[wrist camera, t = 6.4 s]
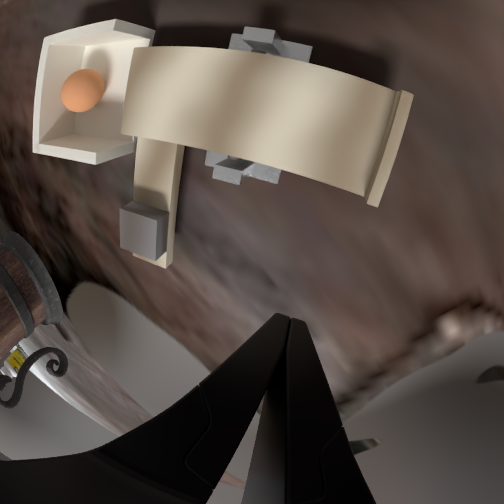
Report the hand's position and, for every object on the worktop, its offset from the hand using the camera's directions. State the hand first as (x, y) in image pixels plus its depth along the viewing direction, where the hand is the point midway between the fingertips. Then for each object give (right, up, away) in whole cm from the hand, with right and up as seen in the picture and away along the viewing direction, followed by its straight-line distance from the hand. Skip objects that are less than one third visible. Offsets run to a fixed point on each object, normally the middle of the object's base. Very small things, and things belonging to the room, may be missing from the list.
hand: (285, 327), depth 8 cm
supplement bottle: (-64, -26, +47) cm, 84 cm away
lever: (-2, +7, +9) cm, 11 cm away
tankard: (-34, -5, +27) cm, 44 cm away
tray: (-12, +15, +9) cm, 22 cm away
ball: (-13, +14, +8) cm, 21 cm away
